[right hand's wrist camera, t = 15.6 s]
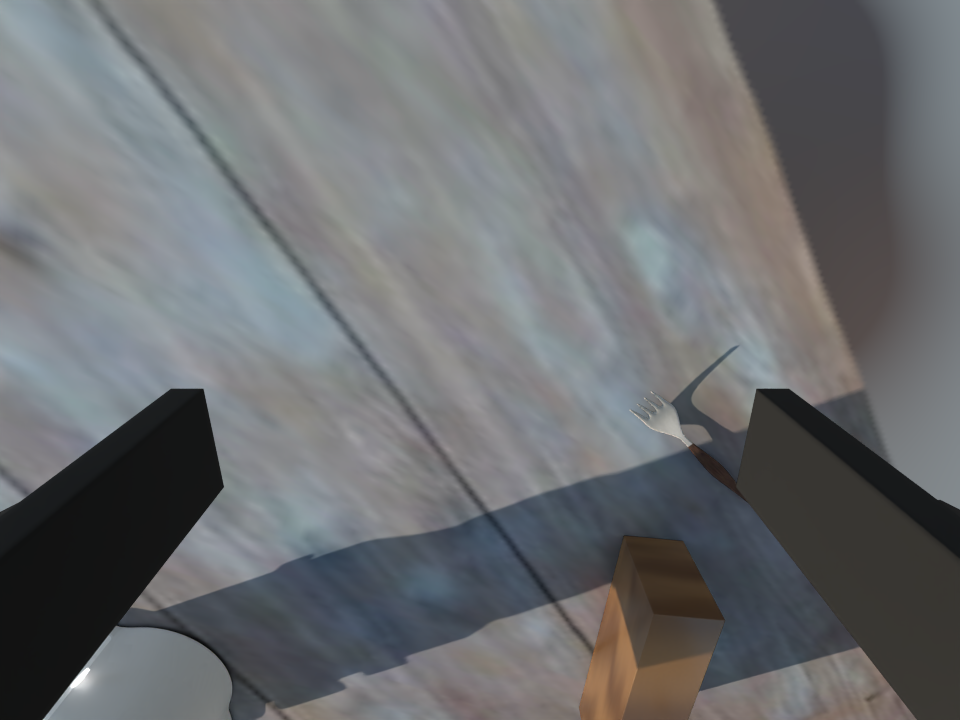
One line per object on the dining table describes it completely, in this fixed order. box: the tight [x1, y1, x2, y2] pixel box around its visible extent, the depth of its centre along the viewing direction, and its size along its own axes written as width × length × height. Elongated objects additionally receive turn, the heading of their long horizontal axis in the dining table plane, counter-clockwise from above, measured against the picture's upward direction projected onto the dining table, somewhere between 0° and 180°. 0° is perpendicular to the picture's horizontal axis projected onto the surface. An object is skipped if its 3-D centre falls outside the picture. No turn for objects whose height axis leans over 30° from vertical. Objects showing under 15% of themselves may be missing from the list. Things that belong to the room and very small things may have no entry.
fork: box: [630, 391, 747, 502], centre depth 43 cm, size 3×16×2 cm, turn 47°
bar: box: [579, 536, 725, 720], centre depth 47 cm, size 23×6×9 cm, turn 174°
